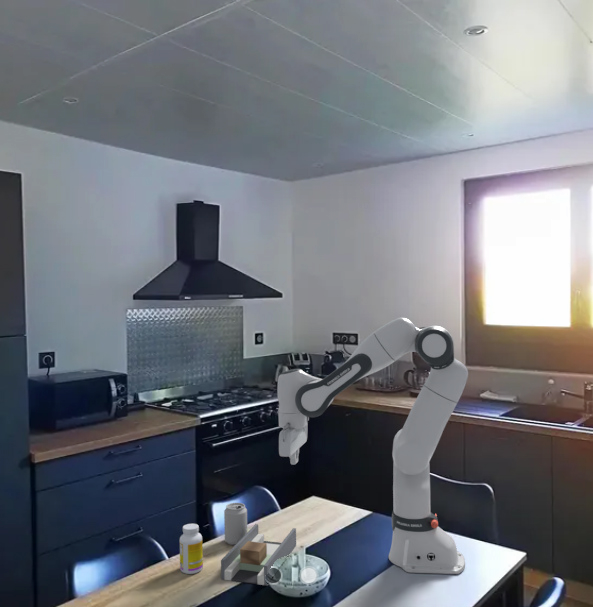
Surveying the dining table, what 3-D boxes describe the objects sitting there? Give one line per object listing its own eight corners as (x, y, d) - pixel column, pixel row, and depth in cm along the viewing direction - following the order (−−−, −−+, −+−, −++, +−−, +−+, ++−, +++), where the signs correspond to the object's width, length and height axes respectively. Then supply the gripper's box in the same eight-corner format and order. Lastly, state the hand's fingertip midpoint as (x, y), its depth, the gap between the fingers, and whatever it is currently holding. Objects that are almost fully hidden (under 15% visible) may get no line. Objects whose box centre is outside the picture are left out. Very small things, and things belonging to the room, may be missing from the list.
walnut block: (266, 556, 177) (266, 543, 177) (259, 565, 171) (259, 551, 171) (248, 554, 179) (247, 541, 179) (240, 562, 173) (240, 549, 173)
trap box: (296, 545, 191) (296, 528, 191) (267, 585, 164) (267, 565, 164) (255, 540, 195) (255, 524, 195) (221, 579, 169) (220, 560, 168)
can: (246, 546, 191) (245, 509, 190) (223, 546, 191) (222, 509, 191) (248, 536, 198) (248, 501, 198) (226, 537, 198) (225, 501, 198)
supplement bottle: (207, 567, 176) (206, 524, 176) (194, 576, 170) (193, 532, 170) (188, 563, 179) (188, 520, 179) (175, 572, 173) (174, 528, 173)
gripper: (292, 427, 178) (294, 473, 178) (310, 413, 197) (311, 455, 197) (272, 427, 180) (274, 472, 180) (292, 413, 199) (293, 454, 199)
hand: (294, 463), depth 189 cm, fingers closed
